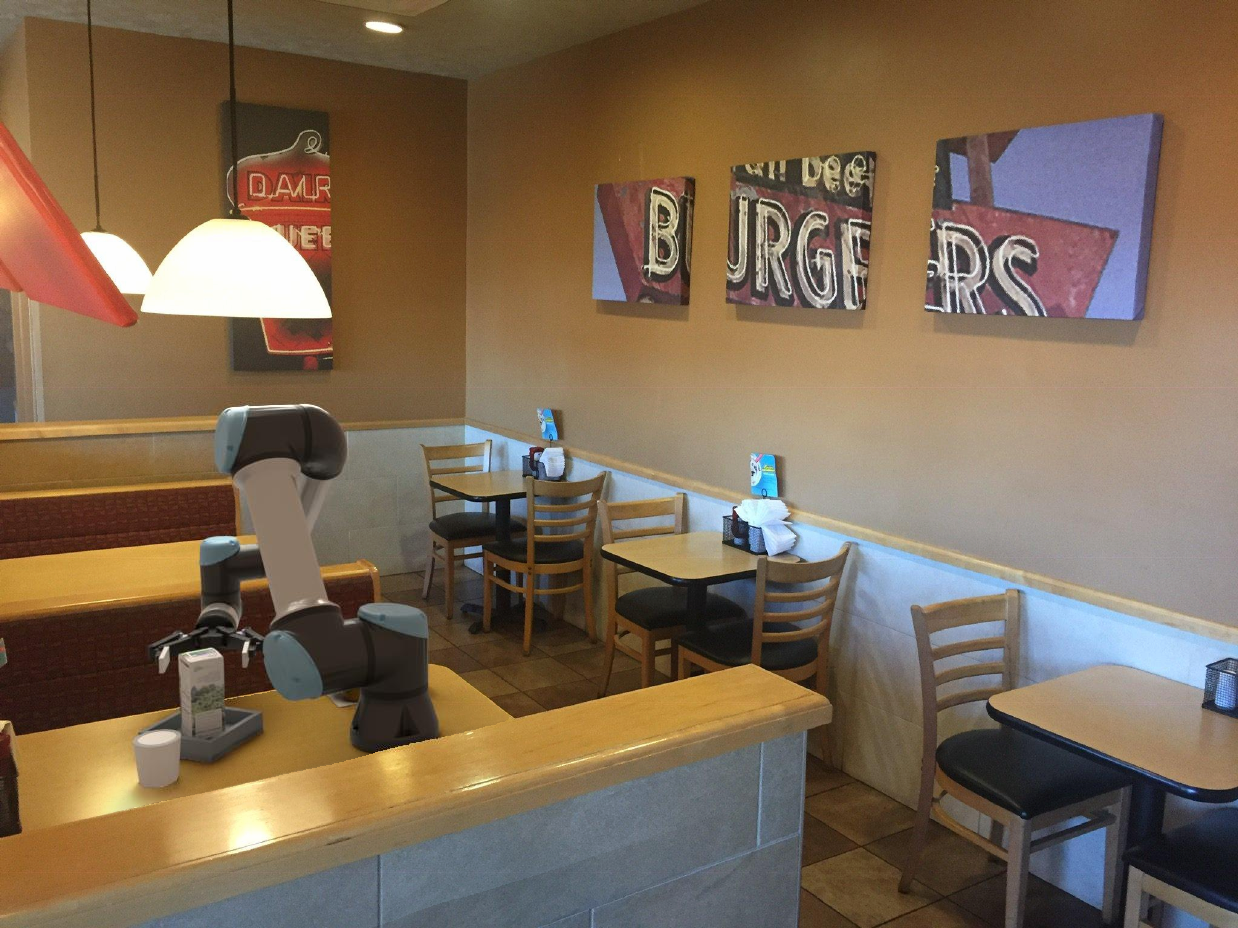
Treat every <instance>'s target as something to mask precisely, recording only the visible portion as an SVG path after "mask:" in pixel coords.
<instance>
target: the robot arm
mask: <svg viewBox="0 0 1238 928" xmlns="http://www.w3.org/2000/svg"><path fill="white" fill-rule="evenodd" d="M346 437H347V436H346V435H345V431H344V429H343V428H342V426H341V424H340V423H339V421H338V420H337V419H336V418H335V417H334V416H333V415H332V414H331V413H329V412H328V411H326V410H325V409H323V408H321V407H319V406H316V405H313V404H307V403H306V404H305V403H304V404H303V403H298V404H283V405H282V404H281V405H279V404H278V405H277V404H276V405H260V406H259V405H258V406H256V405H255V406H249V405H244V406H237V407H236V406H235V407H229V408H226V409H225V410H223V411H222V412H221V414H219V417H218V420H217V424H216V427H215V432H214V443H213V444H214V445H213V451H214V452H213V454H214V462H215V467H216V469H217V471H218V473H220V474H224V475H229V474H230V476H231V479H232V483H233V485H234V487H235V488H236V489H238V490H240V491H242V492H245V497H246V501H247V506H248V508H249V513H250V517H251V521H252V523H253V524H252V525H253V527H254V532H255V533H254V534H255V536H256V540H257V542H254V543H247V544H240V541H239V539H238V538H237V537H235V536H231V535H229V536H228V535H225V536H224V535H223V536H222V535H221V536H220V535H219V536H211V537H207V538H205V539H203V540H202V541H201V542H200V545H199V561H198V565H199V575H200V576H199V577H200V609H201V611H200V615H199V617H198V619H197V620H196V623H195V625H194V628H193V630H192V631H190V633H187V634H184V633H183V632H182V631H181V630H175V631H174V632H173V633H172V634H171V635H168V636H167V637H166V636H165V638H162V639H160V640H158V641H156V642H153V643H152V644H150V645H148V646H147V656H148V660H149V661H154V660H155V664H156V665H157V664H158V673H159V674H165V672H166V670H167V668H168V666H169V663H170V662H171V660H170V659H171V658H174V657H177V656H178V655H179V654H182V653H187V652H192V651H197V650H202V649H208V648H213V649H215V650H216V651H217V652H220V651H222V650H226V651H227V650H228V651H229V650H235V651H238V652H241V657H242V658H241V661H242V665H241V666H242V669H243V668H246V669H247V668H248V664H249V661H250V659H252V658H255V657H256V655H257V653H258V652H259V653H262V654H263V655H264V658H263V663H264V667H265V670H266V673H267V676H268V678H269V681H270V683H271V685H272V686H273V688H274V689H275V691H276V693H278V694H279V696H281V697H282V698H284V699H285V700H287V701H289V702H290V701H291V702H297V701H299V702H300V701H305V700H317V699H319V698H320V697H324V696H328V695H330V694H334V693H339V692H343V691H348V690H352V689H356V688H360V697H359V700H358V704H356V707H355V710H354V713H353V715H352V716H353V717H352V718H351V719H352V720H351V722H350V723H351V724H350V727H349V728H350V729H349V734H350V735H349V737H350V738H349V740H350V742H351V744H352V745H353V746H355V747H356V748H357V749H360V750H362V751H366V752H370V753H375V752H378V751H383V750H387V749H390V748H395V747H398V746H403V745H409V744H410V743H416V742H422V741H425V740H430V739H435V738H436V739H438V737H439V734H440V730H439V729H440V725H439V723H440V722H439V718H438V715H437V712H436V708H435V706H434V704H433V703H434V702H433V700H432V698H431V695H430V692H429V638H430V633H429V627H428V625H429V624H428V617H427V615H426V614H425V612H423V611H422V610H420V609H419V608H417V607H414V606H410V605H406V604H401V603H393V602H373V603H365V604H364V605H361V606H359V609H358V611H357V617H354V618H353V617H352V618H348V619H344V617H343V614H342V613H343V612H342V610H341V607H340V605H339V604H336V603H335V602H332V601H331V600H329V598H328V593H327V591H326V588H325V583H324V579H323V577H322V573H321V569H320V566H319V563H318V557H317V554H316V550H315V547H314V544H313V540H312V536H311V534H312V532H313V530H314V527H315V524H316V522H317V519H318V517H319V515H320V511H321V509H322V506H323V505H324V501H325V500H326V497H327V494H328V492H329V489H330V487H331V484H332V481H333V480H334V479H337V478H338V477H339V476H340V475H341V474H342V472H343V469H344V467H345V464H346V461H347V458H348V457H347V456H348V442H347V438H346ZM261 579H266V580H267V584H268V587H269V591H270V596H271V599H272V603H273V607H274V612H275V617H274V618H273V619H272V621H271V622H270V623H269V631H270V632H269V633H268V634H266V636H265V637H264V636H263V635H261V634H259V633H257V632H256V631H254V630H252V627H251V626H245V627H244V628H243V629H241V631H237V629H238V626H239V623H240V620H241V618H242V616H243V609H244V608H243V602H242V599H241V583H242V582H249V581H254V580H261Z"/></svg>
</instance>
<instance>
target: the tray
mask: <svg viewBox="0 0 1238 928" xmlns="http://www.w3.org/2000/svg"><path fill="white" fill-rule="evenodd" d="M263 714H264V712H263V711H262V710H261V711H260V710H253V709H247V708H239V707H232V706H231V707H230V706H225V731H223V732H221V733H220V734H218V735H216V736H215V737H213V738H211V739H209V740H208V739H201V738H194V737H187V736H184V735H183V734H182V733H181V718H180V709H179V710H177V711H176V712H174V713H172V714H170V715H168V716H166V717H165V718H164V717H163V718H162V719H161V720H158V721H157V722H155V723H152V724H150V725H149V726H147V727H145V728H143V729H142V730H139V731H138V733H137V736H139V735H141V734H143V733H146V732H150V731H154V730H163V729H167V730H175V731H178V732H179V733H180V734H181V744H180V759H181V760H186V759H188V761H193V760H197V761H196V762H199V761H203V762H202V763H206V762H207V763H208V764H213V763H214V762H216V761H218V760H219V759H221V758H222V757H224V756H225V755H227V754H228V753H230V752H233V750H235V749H237V748H238V747H239V746H241V745H242V744H244V743H246V742H247V741H249V740H251V739H253V737H255V736H257V735H259V734H261V733H262V732H263V731H264V717H263V716H264V715H263ZM212 762H213V763H212ZM207 763H206V764H207Z"/></svg>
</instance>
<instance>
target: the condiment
mask: <svg viewBox="0 0 1238 928" xmlns="http://www.w3.org/2000/svg"><path fill="white" fill-rule="evenodd" d="M327 697H328V698H329V699H330V700H331V701H332V702H333V703H334V704H335V706H337V707H338V708H342V707H348V706H354V705H357V704H358V700H359V697H360V688H356V689H352V690H348V691H343V692H339V693H334V694H330V695H327Z"/></svg>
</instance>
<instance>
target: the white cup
mask: <svg viewBox="0 0 1238 928" xmlns="http://www.w3.org/2000/svg"><path fill="white" fill-rule="evenodd" d="M180 744H181V734H180V733H179V732H178V731H175V730H167V729H163V730H154V731H150V732H146V733H143V734H141V735H139V736H138V735H137V736H136V737H135V738H133V740H132V745H133V746H132V747H133V753H134V759H135V764H136V770H137V778H138V784H139V785H140V786H141V787H143V788H147V789H157V788H162V787H161V786H163V787H166V786H165V785H167V786H169V784H170V783H172V784H174V783H175V782H176V781H177V778H178V779H179V777H178V776H180V775H179V774H180V773H179V772H180ZM175 780H176V781H175ZM174 781H175V782H174ZM173 782H174V783H173ZM170 785H171V784H170Z"/></svg>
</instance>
